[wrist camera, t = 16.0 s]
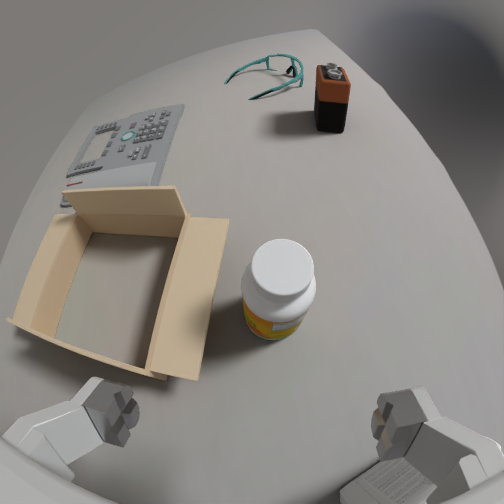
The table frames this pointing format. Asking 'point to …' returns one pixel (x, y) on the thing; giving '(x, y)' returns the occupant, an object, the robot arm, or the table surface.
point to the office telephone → (128, 151)
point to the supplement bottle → (278, 288)
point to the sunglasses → (295, 74)
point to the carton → (176, 287)
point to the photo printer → (389, 485)
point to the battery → (331, 98)
